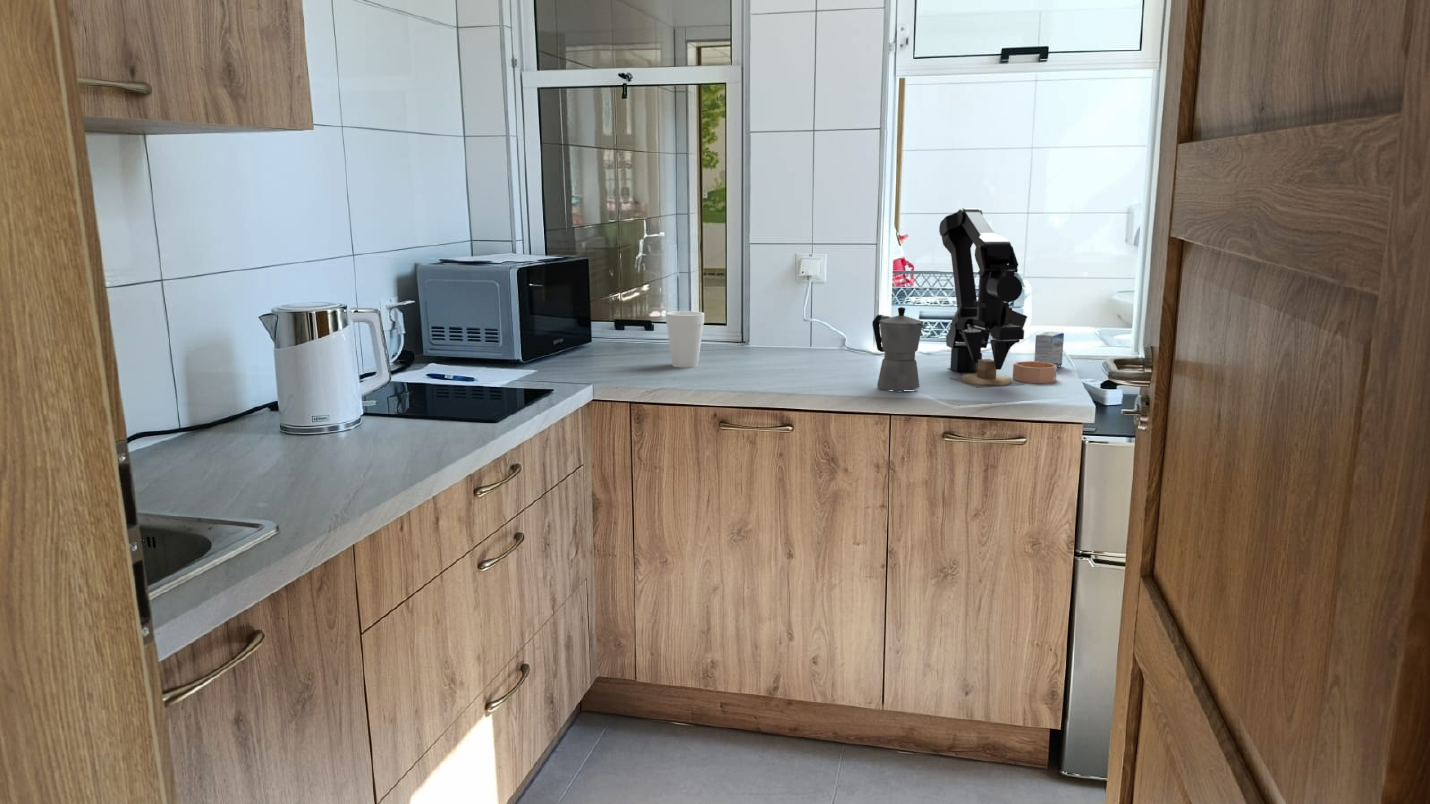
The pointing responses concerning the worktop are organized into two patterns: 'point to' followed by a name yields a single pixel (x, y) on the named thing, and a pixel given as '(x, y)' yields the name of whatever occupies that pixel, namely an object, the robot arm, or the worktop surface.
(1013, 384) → the mat
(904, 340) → the coffeepot
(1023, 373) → the bowl
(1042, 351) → the medicine box
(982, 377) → the lid
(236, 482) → the worktop surface
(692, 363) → the foam cup
